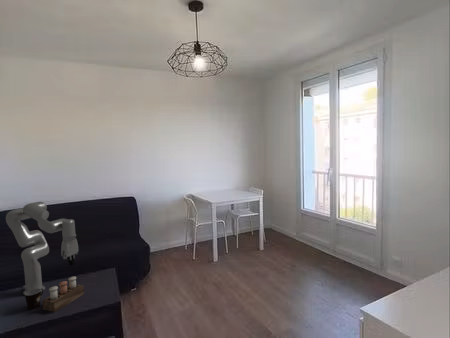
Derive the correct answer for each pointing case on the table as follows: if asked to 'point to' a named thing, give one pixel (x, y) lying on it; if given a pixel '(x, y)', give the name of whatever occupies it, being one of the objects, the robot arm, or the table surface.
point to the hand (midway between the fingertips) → (71, 265)
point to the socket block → (63, 299)
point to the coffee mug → (33, 298)
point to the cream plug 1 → (53, 293)
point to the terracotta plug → (63, 287)
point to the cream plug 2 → (72, 282)
